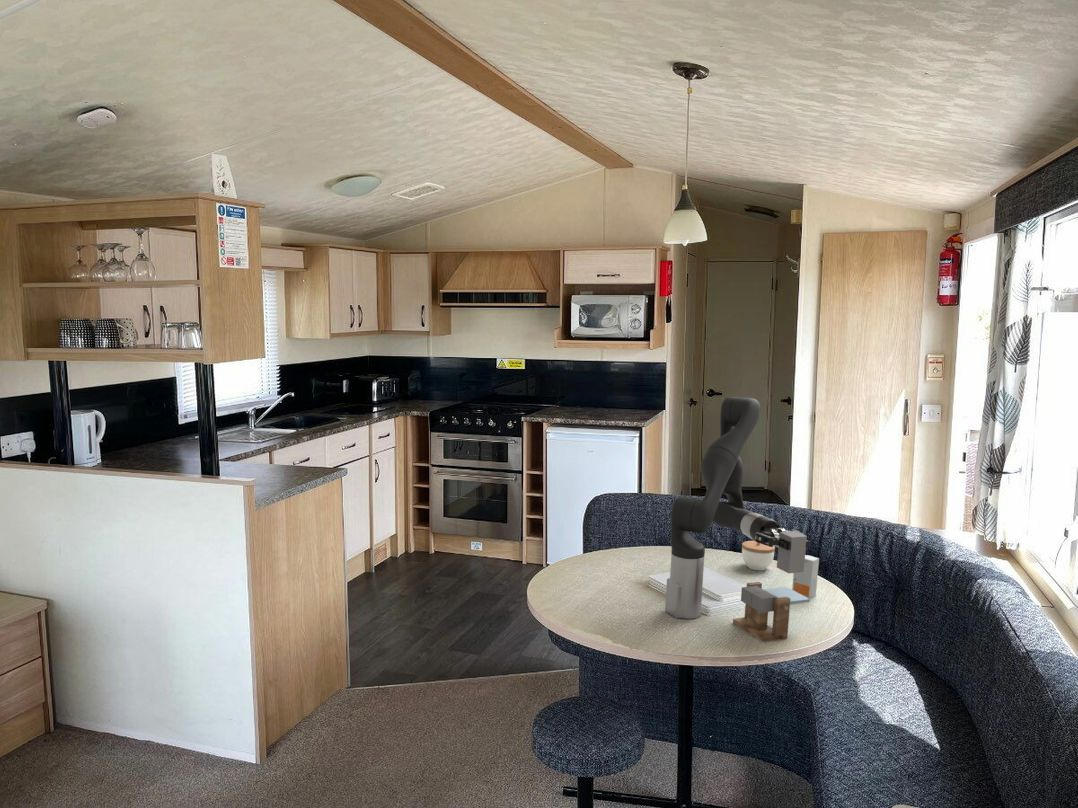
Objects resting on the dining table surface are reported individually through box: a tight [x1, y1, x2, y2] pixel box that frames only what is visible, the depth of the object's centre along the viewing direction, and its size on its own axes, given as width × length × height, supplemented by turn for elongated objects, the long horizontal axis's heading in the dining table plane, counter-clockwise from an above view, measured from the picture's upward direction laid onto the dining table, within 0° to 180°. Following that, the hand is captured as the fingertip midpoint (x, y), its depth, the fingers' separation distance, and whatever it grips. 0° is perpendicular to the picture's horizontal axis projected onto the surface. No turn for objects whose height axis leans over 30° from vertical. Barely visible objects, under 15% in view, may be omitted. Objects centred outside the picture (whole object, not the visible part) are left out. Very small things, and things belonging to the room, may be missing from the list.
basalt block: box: [776, 530, 808, 574], centre depth 222 cm, size 5×5×10 cm
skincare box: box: [791, 554, 820, 600], centre depth 250 cm, size 6×4×12 cm
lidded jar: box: [741, 540, 776, 571], centre depth 275 cm, size 11×11×9 cm
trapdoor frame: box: [732, 581, 791, 643], centre depth 221 cm, size 16×8×11 cm, turn 22°
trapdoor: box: [740, 586, 811, 613], centre depth 222 cm, size 10×15×4 cm, turn 112°
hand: (798, 545), depth 219 cm, fingers open, 5 cm apart
